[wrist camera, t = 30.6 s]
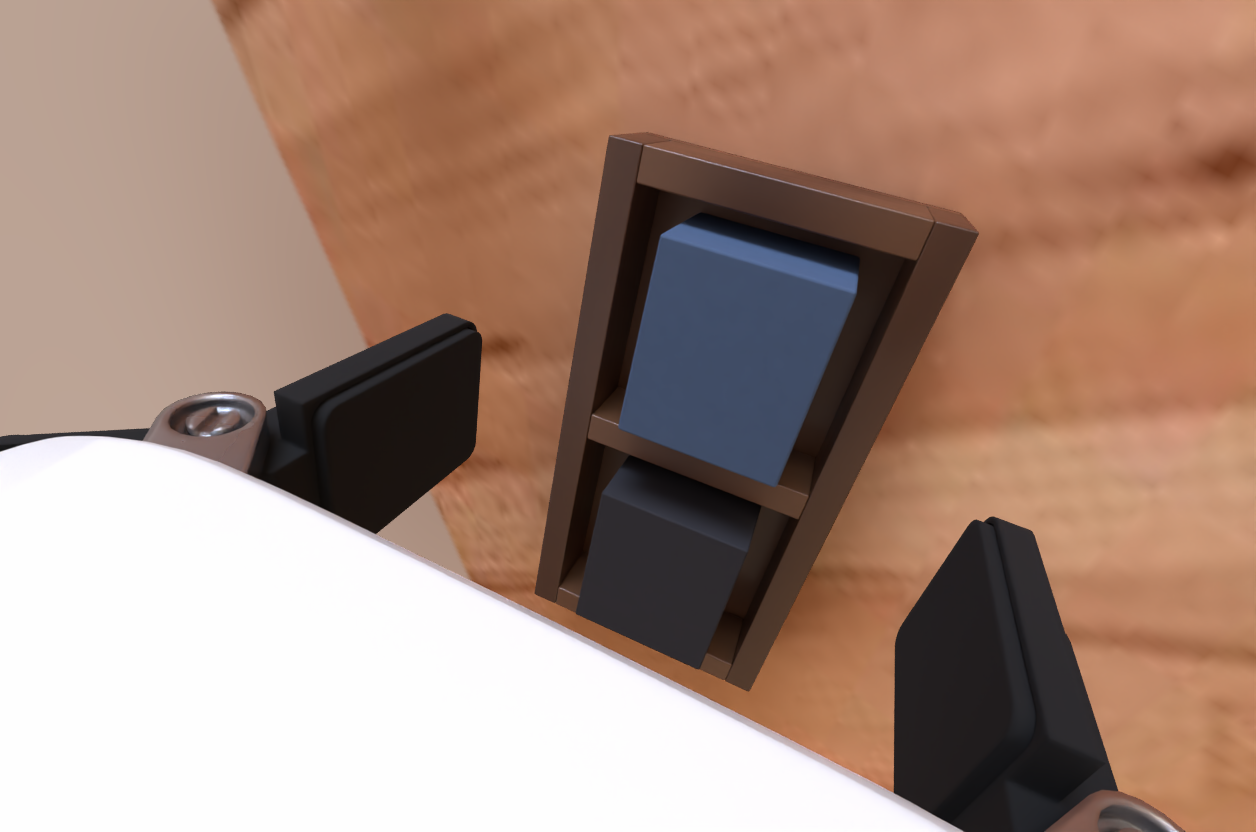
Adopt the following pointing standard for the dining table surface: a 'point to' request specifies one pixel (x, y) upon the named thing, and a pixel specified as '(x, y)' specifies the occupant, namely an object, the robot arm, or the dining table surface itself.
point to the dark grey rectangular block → (665, 558)
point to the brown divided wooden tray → (842, 406)
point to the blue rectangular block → (735, 343)
